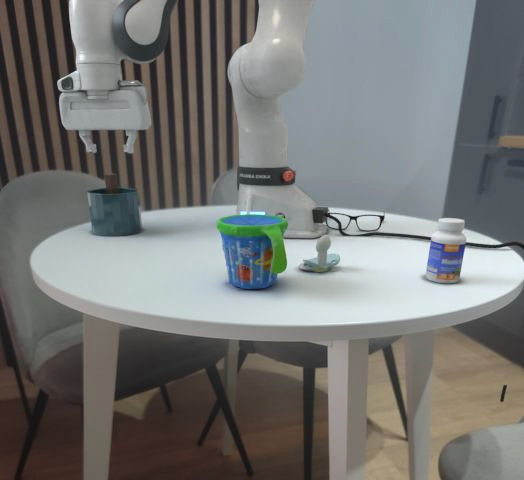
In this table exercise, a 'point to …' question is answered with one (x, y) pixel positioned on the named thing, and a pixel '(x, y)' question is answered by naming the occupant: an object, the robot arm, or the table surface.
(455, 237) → the pill bottle
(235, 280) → the snack cup
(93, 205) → the canister
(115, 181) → the scrubber
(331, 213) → the eyeglasses
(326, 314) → the table surface
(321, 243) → the pacifier
